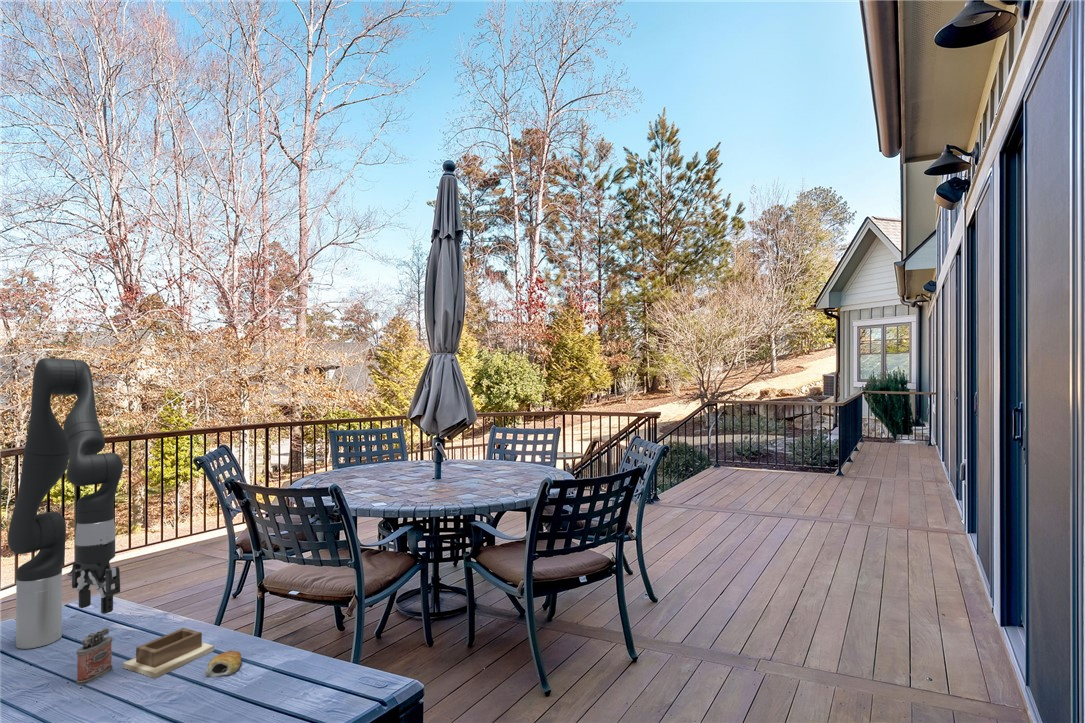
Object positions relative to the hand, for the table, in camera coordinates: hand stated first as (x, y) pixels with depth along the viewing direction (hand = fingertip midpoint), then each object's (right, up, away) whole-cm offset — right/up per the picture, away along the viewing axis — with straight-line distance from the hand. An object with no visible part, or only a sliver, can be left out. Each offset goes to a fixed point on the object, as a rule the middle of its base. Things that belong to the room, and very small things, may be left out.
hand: (95, 609), depth 140 cm
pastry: (+28, -16, +3) cm, 33 cm away
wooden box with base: (+12, -15, +8) cm, 21 cm away
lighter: (0, -16, 0) cm, 16 cm away
